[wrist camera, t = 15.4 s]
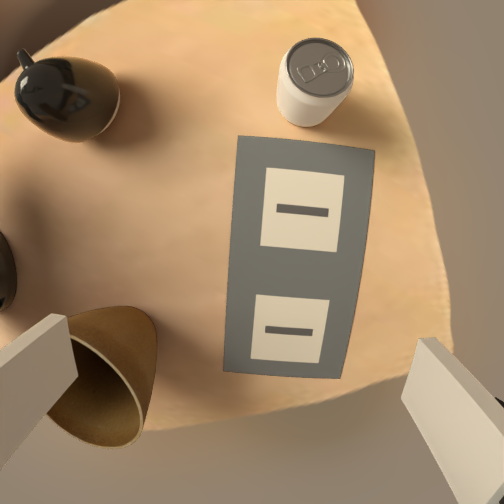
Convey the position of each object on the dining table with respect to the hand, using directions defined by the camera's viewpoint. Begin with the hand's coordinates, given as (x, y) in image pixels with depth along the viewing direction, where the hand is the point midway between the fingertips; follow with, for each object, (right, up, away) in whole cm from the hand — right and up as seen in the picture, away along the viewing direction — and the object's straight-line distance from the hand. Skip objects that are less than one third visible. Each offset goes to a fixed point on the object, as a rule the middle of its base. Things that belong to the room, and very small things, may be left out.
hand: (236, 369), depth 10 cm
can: (+7, +21, +23) cm, 32 cm away
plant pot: (-16, -7, +31) cm, 35 cm away
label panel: (+6, +2, +27) cm, 28 cm away
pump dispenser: (-20, +23, +25) cm, 39 cm away
